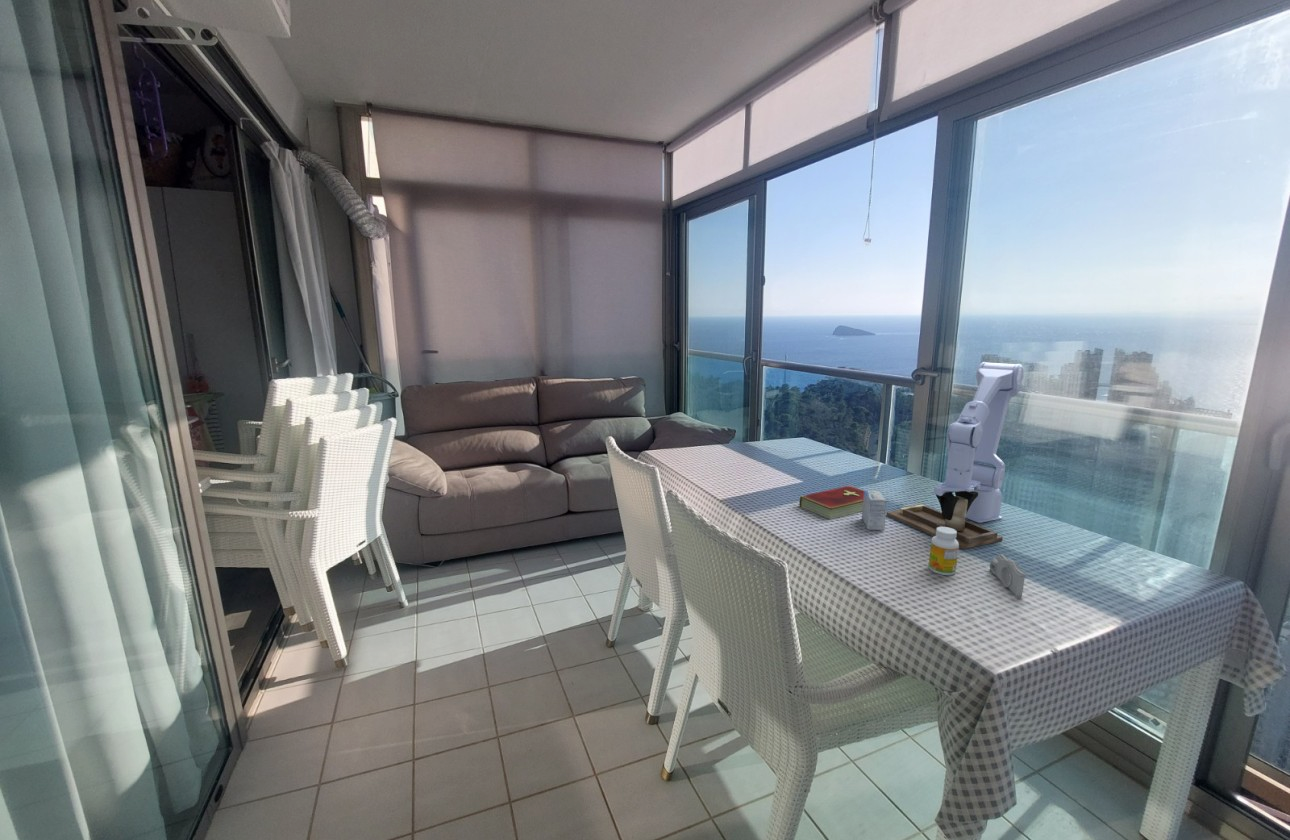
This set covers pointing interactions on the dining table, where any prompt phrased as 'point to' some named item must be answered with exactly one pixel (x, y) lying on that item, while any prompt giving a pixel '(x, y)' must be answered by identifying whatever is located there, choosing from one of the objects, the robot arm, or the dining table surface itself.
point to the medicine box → (874, 510)
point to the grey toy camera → (1008, 573)
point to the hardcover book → (834, 502)
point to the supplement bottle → (944, 551)
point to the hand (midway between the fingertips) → (953, 517)
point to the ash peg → (958, 515)
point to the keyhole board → (932, 518)
